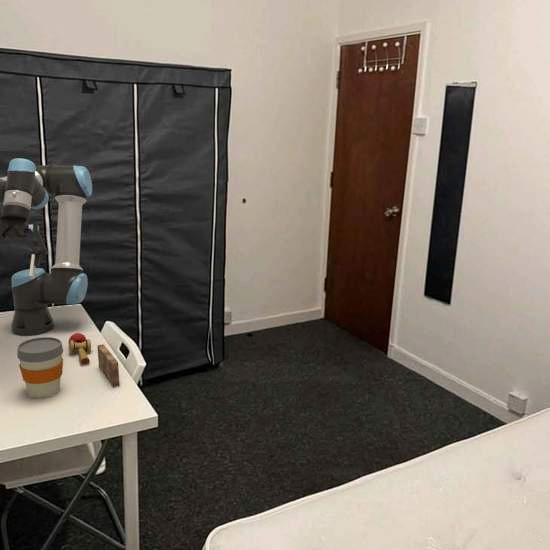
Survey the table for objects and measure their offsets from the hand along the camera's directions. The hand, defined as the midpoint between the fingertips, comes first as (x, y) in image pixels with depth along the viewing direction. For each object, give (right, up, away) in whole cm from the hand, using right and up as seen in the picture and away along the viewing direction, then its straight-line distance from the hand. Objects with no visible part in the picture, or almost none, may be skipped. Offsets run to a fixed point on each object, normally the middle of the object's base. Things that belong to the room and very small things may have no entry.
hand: (7, 276), depth 159 cm
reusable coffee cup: (+8, -35, +7) cm, 36 cm away
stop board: (+24, -32, +17) cm, 44 cm away
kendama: (+10, -28, +32) cm, 44 cm away
